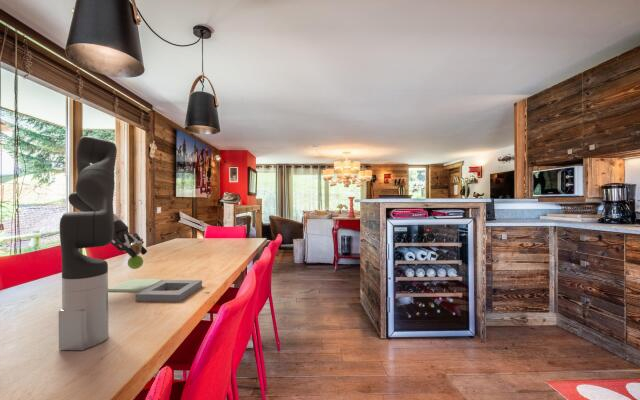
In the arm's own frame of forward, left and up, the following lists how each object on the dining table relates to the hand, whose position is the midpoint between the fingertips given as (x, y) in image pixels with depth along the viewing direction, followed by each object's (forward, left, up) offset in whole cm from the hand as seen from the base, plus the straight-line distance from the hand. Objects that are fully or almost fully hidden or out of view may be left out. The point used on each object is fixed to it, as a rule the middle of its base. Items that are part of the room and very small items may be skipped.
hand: (140, 254), depth 122 cm
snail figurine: (0, +2, -6) cm, 6 cm away
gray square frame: (-8, -17, -13) cm, 23 cm away
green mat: (0, +2, -13) cm, 13 cm away
